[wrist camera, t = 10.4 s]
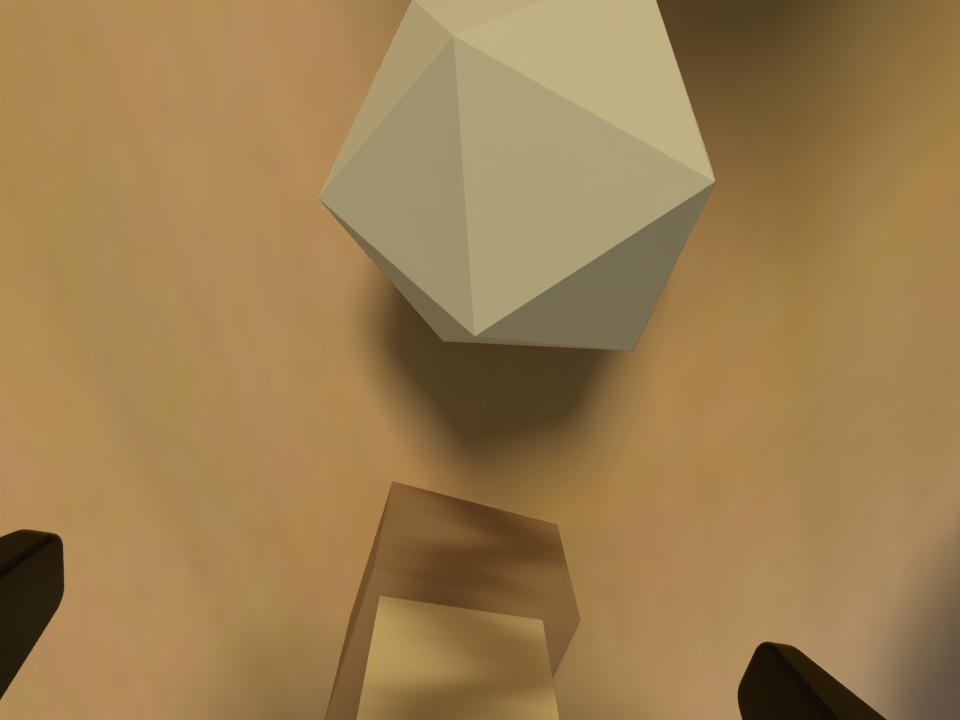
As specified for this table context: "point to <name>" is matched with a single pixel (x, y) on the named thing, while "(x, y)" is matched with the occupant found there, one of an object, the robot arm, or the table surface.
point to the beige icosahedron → (525, 169)
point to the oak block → (455, 665)
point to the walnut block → (456, 575)
